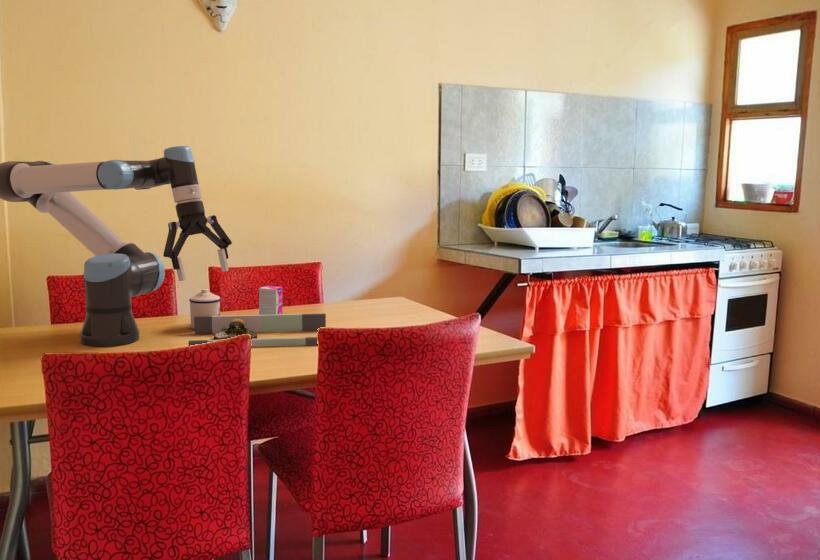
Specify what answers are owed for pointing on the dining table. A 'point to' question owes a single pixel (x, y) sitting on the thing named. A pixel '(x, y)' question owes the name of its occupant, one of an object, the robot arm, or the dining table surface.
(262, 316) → the trap lane
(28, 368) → the dining table surface
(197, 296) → the teacup with lid
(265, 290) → the supplement box
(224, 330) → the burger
